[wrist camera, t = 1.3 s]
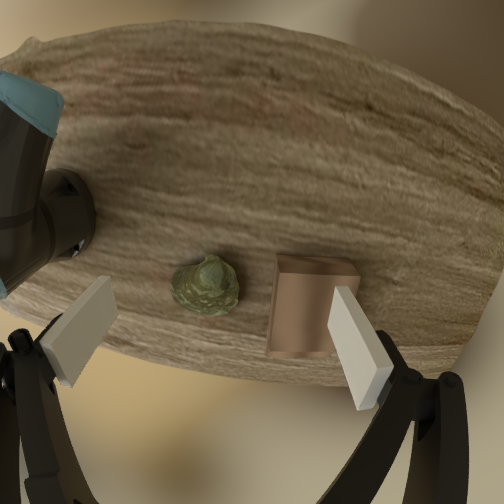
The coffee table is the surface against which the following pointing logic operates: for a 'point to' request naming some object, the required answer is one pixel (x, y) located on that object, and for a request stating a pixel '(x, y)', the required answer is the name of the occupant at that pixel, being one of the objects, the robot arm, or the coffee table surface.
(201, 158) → the coffee table surface
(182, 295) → the seashell
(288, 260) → the block
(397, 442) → the robot arm
